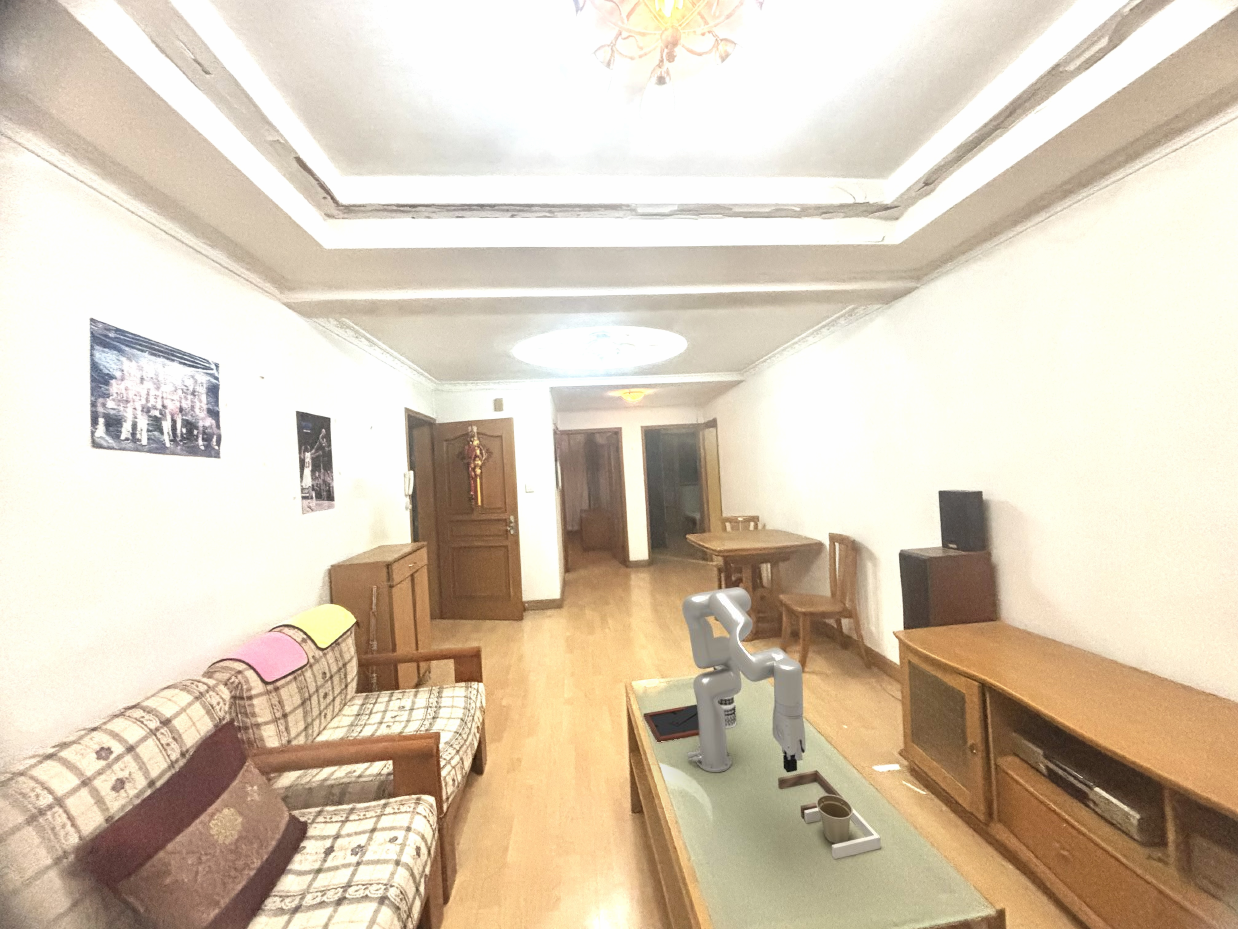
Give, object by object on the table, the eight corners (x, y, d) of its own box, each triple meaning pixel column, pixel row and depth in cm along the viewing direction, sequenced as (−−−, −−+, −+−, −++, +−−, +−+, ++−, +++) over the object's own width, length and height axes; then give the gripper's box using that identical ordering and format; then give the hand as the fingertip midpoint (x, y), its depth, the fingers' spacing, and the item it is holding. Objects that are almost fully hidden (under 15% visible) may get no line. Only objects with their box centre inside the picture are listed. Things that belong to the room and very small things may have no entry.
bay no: (802, 818, 143) (802, 808, 143) (778, 787, 157) (778, 778, 157) (844, 809, 145) (844, 799, 145) (817, 779, 159) (816, 770, 159)
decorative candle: (709, 720, 198) (706, 659, 198) (728, 714, 202) (724, 654, 201) (722, 731, 190) (719, 668, 189) (741, 724, 193) (738, 663, 193)
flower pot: (839, 855, 129) (838, 823, 129) (810, 832, 137) (809, 802, 137) (861, 840, 134) (860, 809, 134) (832, 819, 142) (830, 790, 142)
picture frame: (699, 707, 209) (643, 717, 204) (698, 703, 209) (643, 713, 204) (718, 733, 190) (657, 744, 184) (718, 728, 190) (657, 739, 184)
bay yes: (834, 859, 128) (834, 848, 128) (804, 820, 142) (804, 810, 142) (880, 848, 131) (880, 837, 131) (847, 811, 144) (846, 801, 144)
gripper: (763, 694, 140) (764, 755, 141) (790, 723, 125) (792, 791, 126) (786, 690, 141) (788, 750, 142) (817, 718, 127) (818, 786, 127)
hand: (790, 769), depth 134 cm, fingers closed
